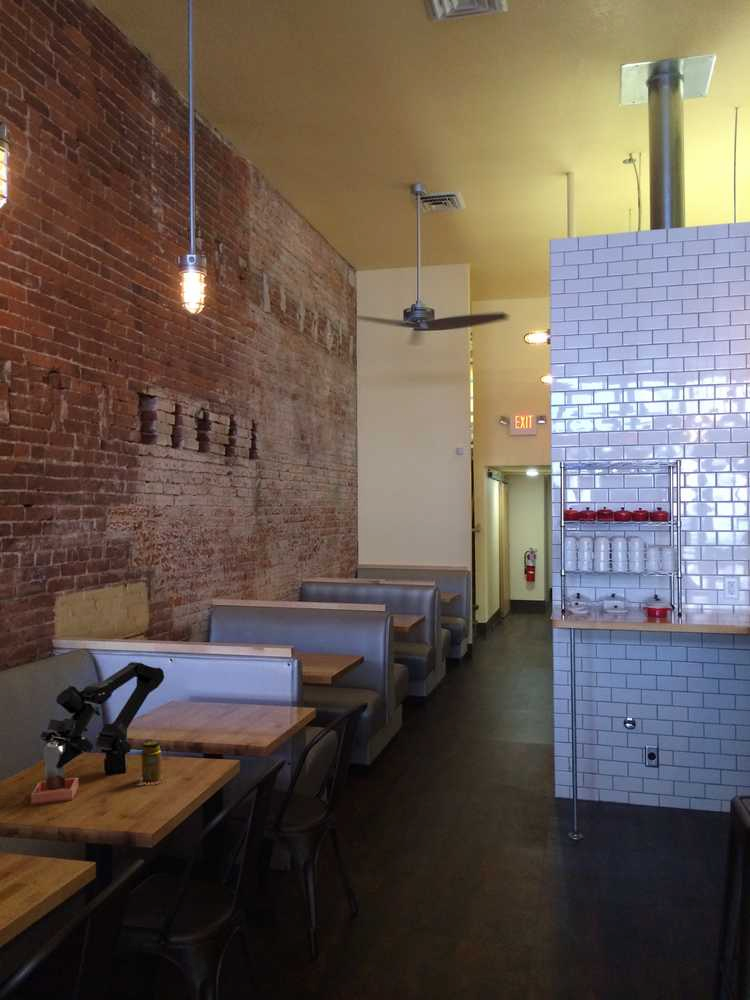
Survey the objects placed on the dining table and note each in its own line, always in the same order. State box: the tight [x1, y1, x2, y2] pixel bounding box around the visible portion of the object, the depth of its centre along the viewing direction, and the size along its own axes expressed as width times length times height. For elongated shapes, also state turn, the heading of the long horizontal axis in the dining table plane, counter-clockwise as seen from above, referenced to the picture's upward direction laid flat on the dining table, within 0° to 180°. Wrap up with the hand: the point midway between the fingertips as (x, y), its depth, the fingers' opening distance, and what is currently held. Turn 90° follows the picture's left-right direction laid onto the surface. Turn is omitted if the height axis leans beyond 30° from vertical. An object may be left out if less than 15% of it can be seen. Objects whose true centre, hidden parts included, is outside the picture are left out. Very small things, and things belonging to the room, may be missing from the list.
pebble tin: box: [43, 741, 66, 790], centre depth 241 cm, size 6×6×14 cm
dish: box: [30, 777, 80, 806], centre depth 240 cm, size 12×12×3 cm
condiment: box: [136, 740, 163, 786], centre depth 250 cm, size 7×8×12 cm
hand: (51, 766), depth 239 cm, fingers closed on pebble tin, 6 cm apart
